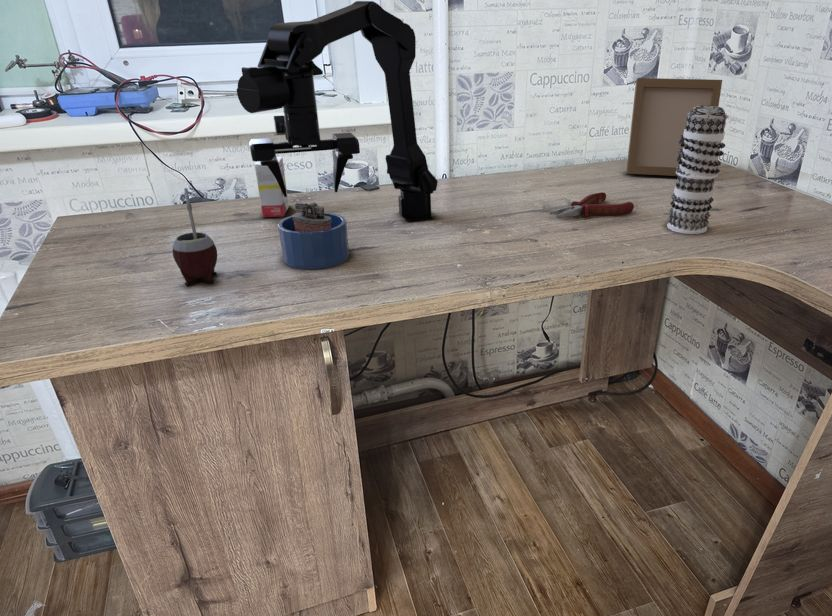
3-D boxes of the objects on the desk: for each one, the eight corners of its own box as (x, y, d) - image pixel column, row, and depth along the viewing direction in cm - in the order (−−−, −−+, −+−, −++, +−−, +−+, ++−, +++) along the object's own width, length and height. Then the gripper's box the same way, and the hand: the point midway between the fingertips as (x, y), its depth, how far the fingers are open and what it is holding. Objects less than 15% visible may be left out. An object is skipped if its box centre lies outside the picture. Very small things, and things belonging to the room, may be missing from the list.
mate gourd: (197, 291, 108) (177, 205, 100) (168, 281, 111) (147, 197, 104) (232, 276, 113) (216, 194, 106) (204, 267, 117) (186, 187, 109)
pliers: (537, 213, 146) (537, 202, 144) (601, 200, 155) (602, 190, 154) (569, 227, 137) (570, 215, 136) (635, 213, 147) (636, 202, 146)
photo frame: (707, 180, 172) (726, 82, 160) (626, 177, 175) (638, 80, 163) (699, 167, 185) (716, 75, 172) (624, 164, 188) (635, 74, 175)
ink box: (283, 217, 143) (276, 164, 137) (261, 217, 142) (253, 165, 137) (290, 206, 150) (283, 155, 144) (269, 206, 150) (261, 156, 144)
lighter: (339, 254, 121) (333, 203, 116) (329, 260, 119) (323, 208, 114) (304, 248, 124) (297, 198, 119) (293, 254, 121) (286, 203, 116)
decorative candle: (657, 227, 137) (676, 107, 125) (677, 218, 143) (697, 102, 131) (696, 237, 132) (720, 112, 120) (715, 227, 138) (740, 107, 126)
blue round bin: (343, 242, 129) (339, 209, 125) (354, 264, 118) (350, 228, 115) (280, 250, 125) (275, 215, 121) (286, 273, 115) (281, 236, 111)
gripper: (345, 96, 118) (352, 178, 126) (241, 101, 113) (256, 187, 120) (356, 105, 109) (364, 193, 117) (244, 111, 103) (259, 203, 111)
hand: (311, 194), depth 117 cm, fingers open, 9 cm apart
